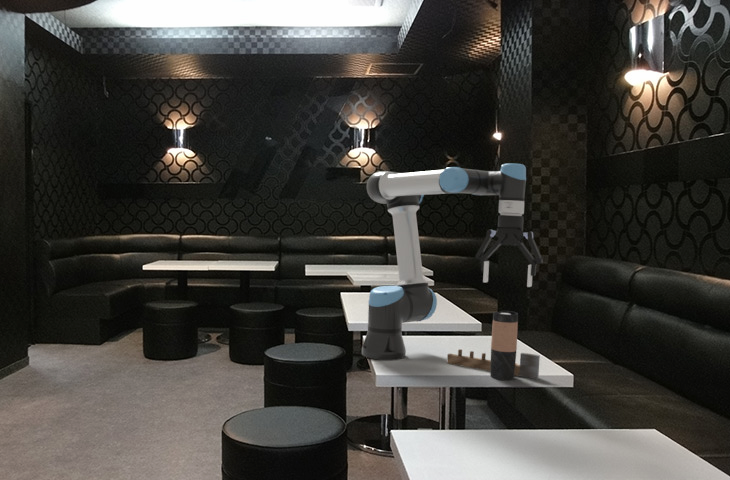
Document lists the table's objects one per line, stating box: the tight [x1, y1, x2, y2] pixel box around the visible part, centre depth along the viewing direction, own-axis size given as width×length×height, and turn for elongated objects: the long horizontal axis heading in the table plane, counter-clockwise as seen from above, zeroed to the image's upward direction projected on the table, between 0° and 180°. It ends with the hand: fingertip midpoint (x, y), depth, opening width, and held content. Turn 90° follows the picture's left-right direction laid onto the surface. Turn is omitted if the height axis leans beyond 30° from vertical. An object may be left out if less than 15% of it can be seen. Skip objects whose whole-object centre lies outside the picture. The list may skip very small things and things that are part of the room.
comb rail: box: [446, 349, 541, 380], centre depth 193 cm, size 30×2×7 cm, turn 61°
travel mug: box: [490, 310, 519, 381], centre depth 185 cm, size 8×8×20 cm
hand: (507, 284), depth 184 cm, fingers open, 13 cm apart
